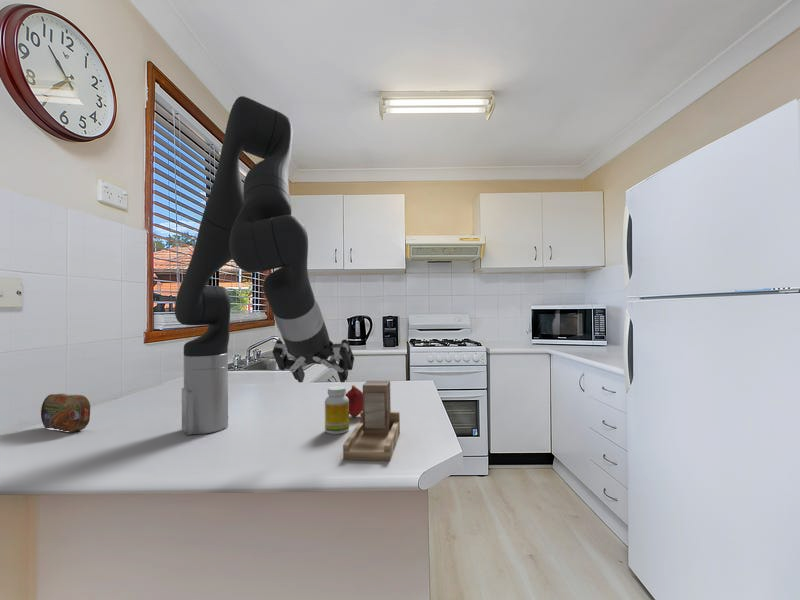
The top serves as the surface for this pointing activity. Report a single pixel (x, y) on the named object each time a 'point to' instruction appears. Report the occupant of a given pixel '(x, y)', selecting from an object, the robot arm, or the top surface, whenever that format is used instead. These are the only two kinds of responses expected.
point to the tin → (65, 412)
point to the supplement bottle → (336, 411)
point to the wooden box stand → (374, 426)
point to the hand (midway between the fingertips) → (322, 378)
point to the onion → (355, 401)
